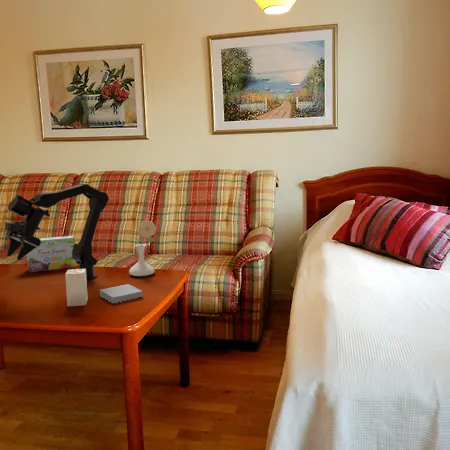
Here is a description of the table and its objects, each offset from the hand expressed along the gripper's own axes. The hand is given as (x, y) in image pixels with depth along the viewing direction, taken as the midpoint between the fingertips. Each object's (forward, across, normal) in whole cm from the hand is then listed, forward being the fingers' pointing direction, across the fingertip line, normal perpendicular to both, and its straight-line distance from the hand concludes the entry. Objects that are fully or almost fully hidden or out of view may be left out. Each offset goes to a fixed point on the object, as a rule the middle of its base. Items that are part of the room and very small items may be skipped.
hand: (13, 257), depth 172 cm
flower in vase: (-15, +15, +50) cm, 55 cm away
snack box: (-3, -28, +32) cm, 42 cm away
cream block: (+6, +28, +17) cm, 33 cm away
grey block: (-1, +34, +30) cm, 45 cm away
